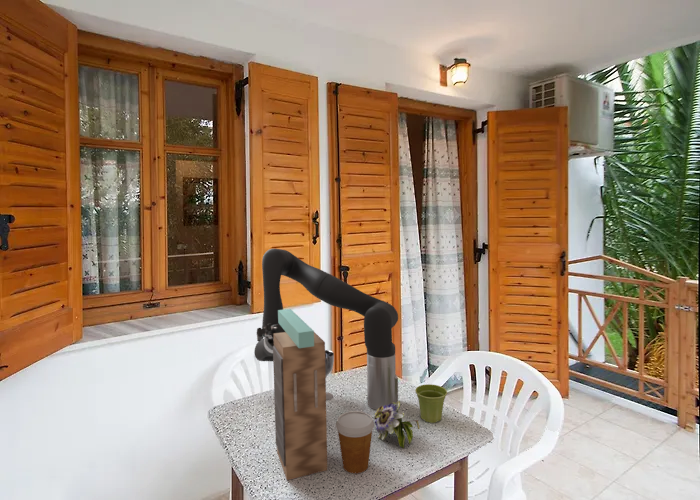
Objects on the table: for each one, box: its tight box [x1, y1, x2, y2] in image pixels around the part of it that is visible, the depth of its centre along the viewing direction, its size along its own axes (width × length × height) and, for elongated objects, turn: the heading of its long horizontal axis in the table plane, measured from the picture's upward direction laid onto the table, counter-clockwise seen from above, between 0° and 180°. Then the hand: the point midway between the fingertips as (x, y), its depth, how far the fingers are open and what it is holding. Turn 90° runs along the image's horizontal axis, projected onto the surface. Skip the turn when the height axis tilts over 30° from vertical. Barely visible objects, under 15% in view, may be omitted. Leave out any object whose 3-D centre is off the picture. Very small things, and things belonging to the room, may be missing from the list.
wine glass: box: [325, 349, 335, 402], centre depth 138 cm, size 8×8×15 cm
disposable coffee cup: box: [335, 410, 375, 475], centre depth 99 cm, size 10×10×12 cm
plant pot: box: [414, 383, 448, 424], centre depth 122 cm, size 9×9×9 cm
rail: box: [278, 308, 315, 348], centre depth 103 cm, size 4×24×4 cm, turn 21°
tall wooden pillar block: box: [272, 331, 328, 481], centre depth 100 cm, size 10×12×32 cm
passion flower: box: [373, 400, 421, 449], centre depth 112 cm, size 11×11×12 cm
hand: (285, 325), depth 114 cm, fingers open, 8 cm apart
